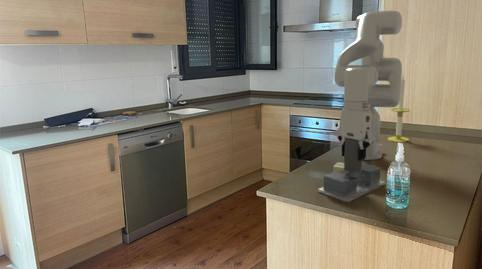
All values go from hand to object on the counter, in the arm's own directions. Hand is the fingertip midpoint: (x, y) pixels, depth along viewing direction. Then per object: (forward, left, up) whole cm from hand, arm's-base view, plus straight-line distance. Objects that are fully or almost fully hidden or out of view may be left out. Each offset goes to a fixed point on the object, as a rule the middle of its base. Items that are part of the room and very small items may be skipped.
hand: (353, 157), depth 127 cm
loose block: (-8, -11, -12) cm, 18 cm away
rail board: (0, 0, -11) cm, 11 cm away
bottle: (0, 0, -5) cm, 5 cm away
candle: (-69, -21, -12) cm, 73 cm away
